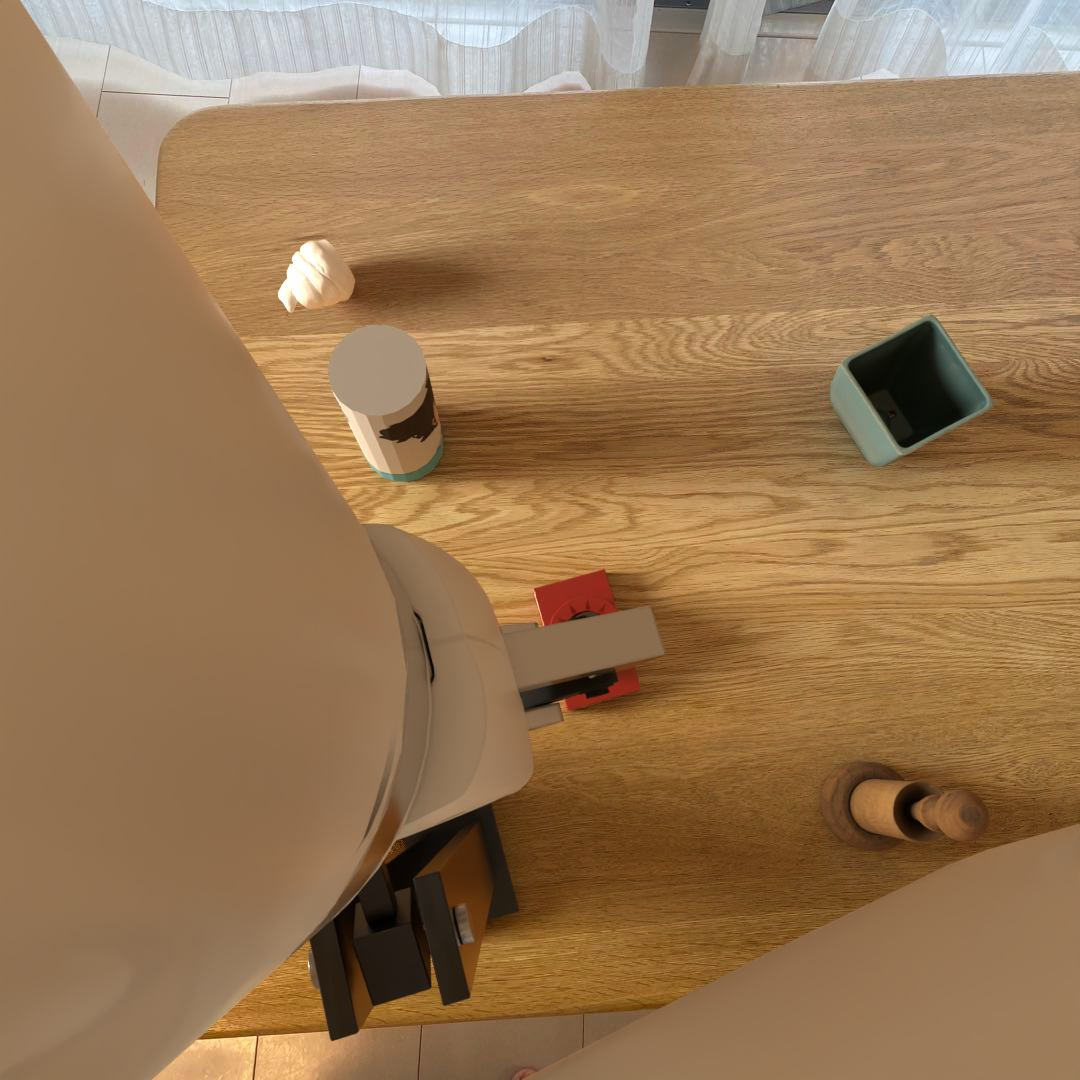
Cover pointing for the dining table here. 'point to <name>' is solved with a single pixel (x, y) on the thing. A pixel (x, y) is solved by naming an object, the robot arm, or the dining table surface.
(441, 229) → the dining table surface
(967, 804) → the mortar and pestle
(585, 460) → the dining table surface
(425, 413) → the beige cylindrical canister
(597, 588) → the button block
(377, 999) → the t-handle lever
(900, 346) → the flower pot
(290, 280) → the garlic bulb
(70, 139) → the robot arm
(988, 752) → the dining table surface
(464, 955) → the lever bracket
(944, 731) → the dining table surface
